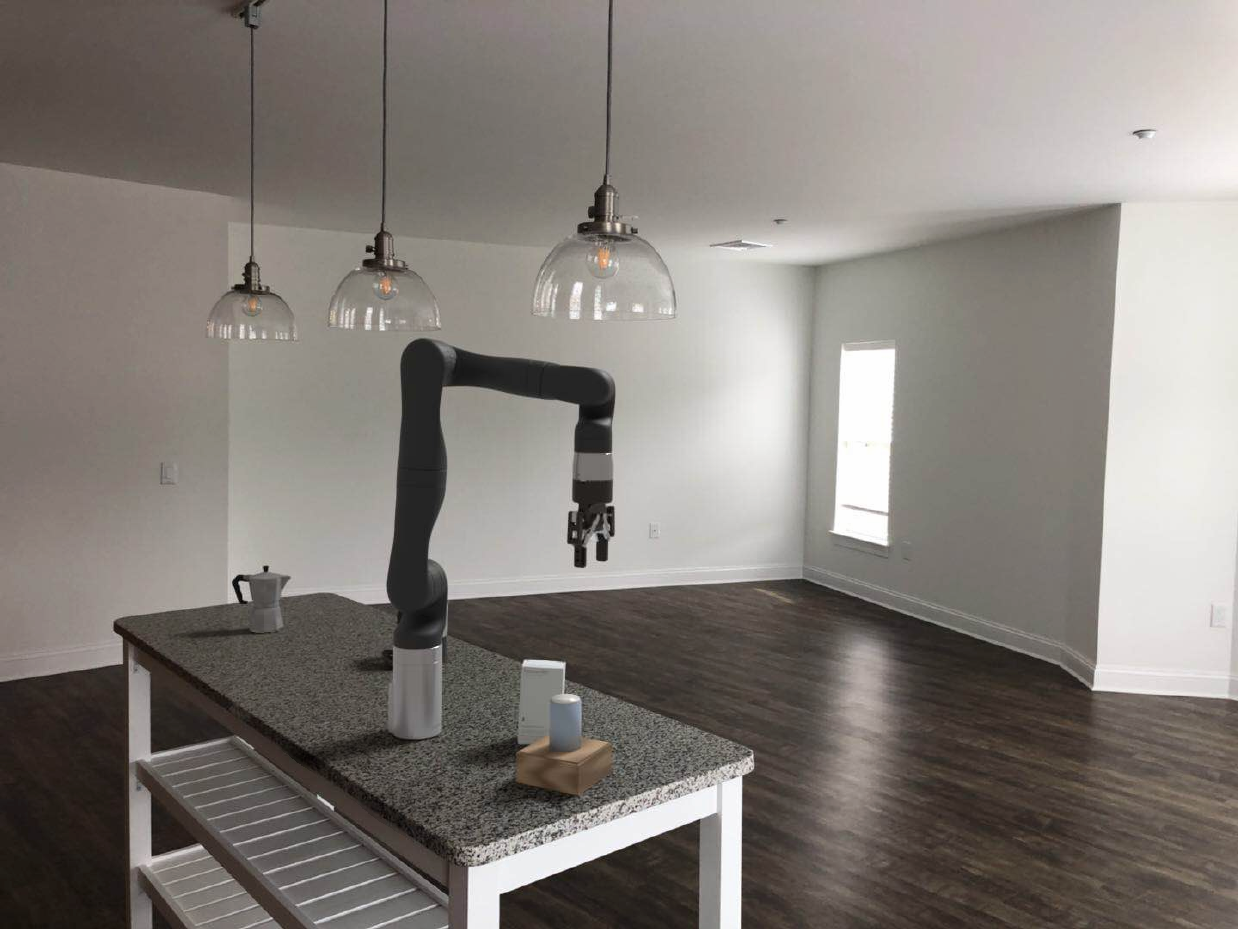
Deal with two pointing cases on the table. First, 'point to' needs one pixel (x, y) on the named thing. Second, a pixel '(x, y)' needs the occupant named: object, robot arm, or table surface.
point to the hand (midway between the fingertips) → (591, 564)
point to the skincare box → (538, 697)
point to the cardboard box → (564, 765)
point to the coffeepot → (263, 598)
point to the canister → (565, 723)
